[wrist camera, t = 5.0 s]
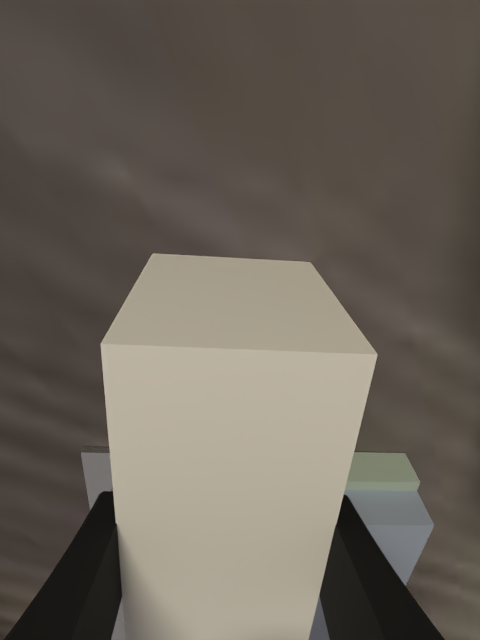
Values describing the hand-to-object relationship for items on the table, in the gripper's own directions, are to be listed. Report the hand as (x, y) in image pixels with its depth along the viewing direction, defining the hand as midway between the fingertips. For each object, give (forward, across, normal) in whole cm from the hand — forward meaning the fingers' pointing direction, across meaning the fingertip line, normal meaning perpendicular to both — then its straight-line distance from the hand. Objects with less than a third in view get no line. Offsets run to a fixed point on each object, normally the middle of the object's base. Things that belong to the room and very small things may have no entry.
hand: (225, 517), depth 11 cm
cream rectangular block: (+5, 0, 0) cm, 5 cm away
